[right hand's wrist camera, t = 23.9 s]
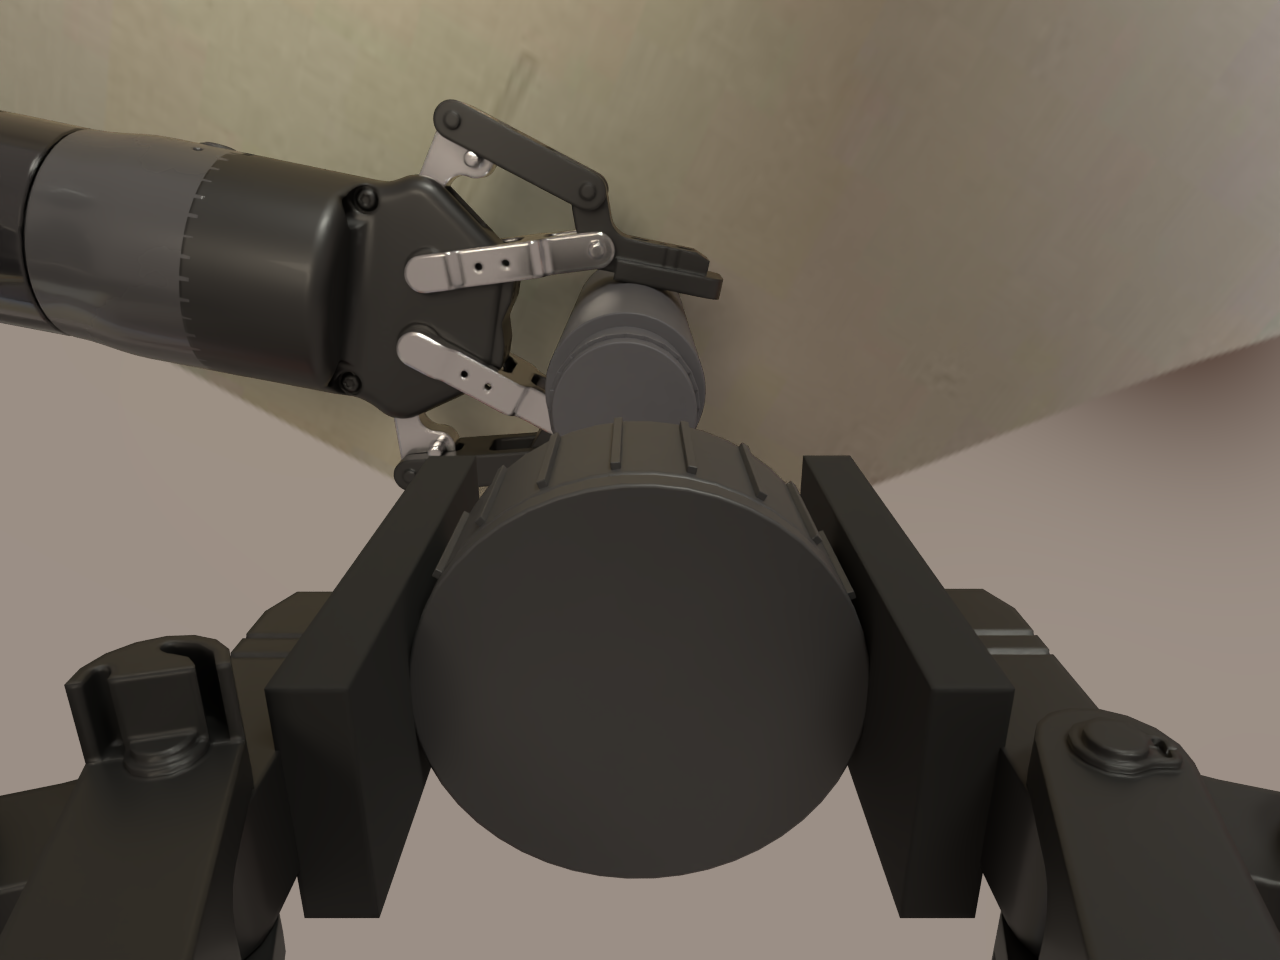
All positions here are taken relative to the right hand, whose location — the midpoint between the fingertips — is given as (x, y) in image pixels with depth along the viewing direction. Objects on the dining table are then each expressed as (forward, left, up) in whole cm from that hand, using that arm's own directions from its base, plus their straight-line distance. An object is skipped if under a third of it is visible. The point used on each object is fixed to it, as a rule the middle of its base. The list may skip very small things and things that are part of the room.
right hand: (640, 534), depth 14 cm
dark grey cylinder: (0, -1, -24) cm, 24 cm away
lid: (0, 0, +4) cm, 4 cm away
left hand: (+2, +2, -18) cm, 18 cm away
